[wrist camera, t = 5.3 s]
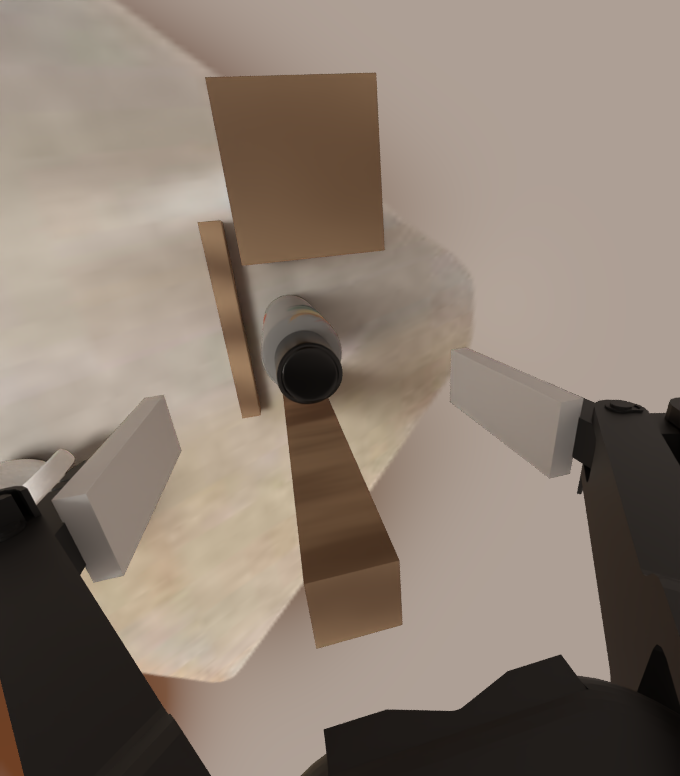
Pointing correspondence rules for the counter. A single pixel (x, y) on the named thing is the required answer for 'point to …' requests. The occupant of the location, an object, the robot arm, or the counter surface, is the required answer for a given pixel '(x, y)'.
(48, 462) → the mug
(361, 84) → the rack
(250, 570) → the counter surface
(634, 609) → the robot arm
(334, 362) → the lotion bottle
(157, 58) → the counter surface
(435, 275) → the counter surface
